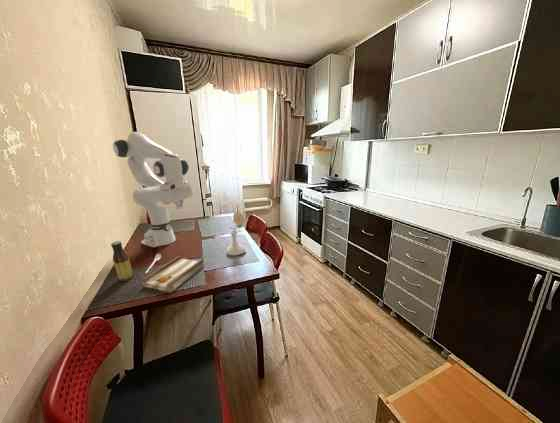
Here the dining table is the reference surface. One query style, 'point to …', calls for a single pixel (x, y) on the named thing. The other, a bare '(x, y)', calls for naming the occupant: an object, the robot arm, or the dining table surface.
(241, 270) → the dining table surface
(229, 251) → the flower in vase
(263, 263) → the dining table surface
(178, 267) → the beige tray
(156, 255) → the fork
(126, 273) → the sauce bottle
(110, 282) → the dining table surface
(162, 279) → the ball
